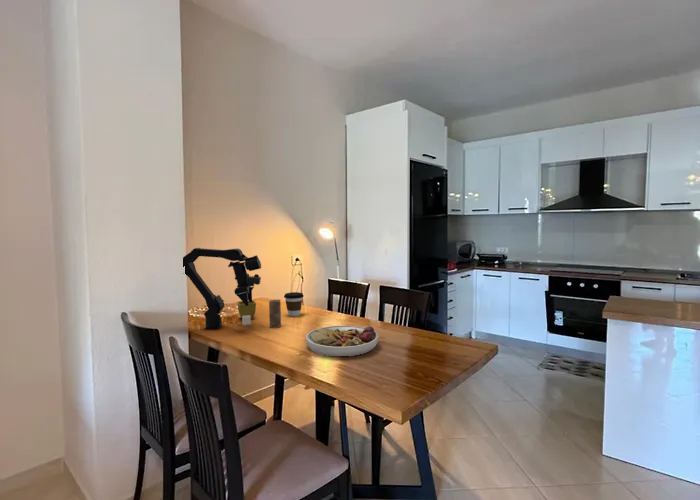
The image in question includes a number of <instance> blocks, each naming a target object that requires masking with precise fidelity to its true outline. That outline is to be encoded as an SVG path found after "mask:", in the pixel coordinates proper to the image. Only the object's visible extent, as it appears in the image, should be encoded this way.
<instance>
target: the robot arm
mask: <svg viewBox="0 0 700 500" xmlns="http://www.w3.org/2000/svg"><path fill="white" fill-rule="evenodd" d="M199 257H203V258H204V257H205V258H220V259H221V258H222V259H224V260H228V261H230V262H229V264H228V265H227V268H231V267H232V269H233V274H234V276H235V277H234V280H235V281H236V284H237V285H236V288H235V289H234V291H233V292H234V295H236V296H237V297H238V299H240V301H242V302H243V303H244V304H245V305H246V306H248V305H249V303H248V301H250V302H252V300H253V289H254V288H255V285H260V284H261V280H262V279H261V276H260V275H259V274H258V273H257V274H254V275H253V276H251V275H250V274H249V273H248V272H252V271H257V270H260V269H262V263H261V260H260V259H259V257H258V254H257V255H253V256H251V257H248V256H246V254H244V253H243V251H242V249H240V248H230V249H215V248H201V247H195V248H193V249H192V250H190V252H189V253H187V254H186V255H184V256H183V257H182V258H183V267H184V266H185V274H186V275H185V274H184V275H185V276H187V278H188V279H189V280H190V281H191V282H192V284H193V285H194V287H195V288H196V289H197V291H198V292H199V294H201V295H202V297H203V299H204V300H205V304H206V307H207V310H206V311H205V312H204V313H203V315H204V317H205V327H204V330H218V329H220V328H221V327H222V326H223V323H222V317H221V312H222V311H223V309H224V308H225V300H224V299H222V297H221V295H220V294H217V295H216V294H214V293H213V292H212V290H211V289H210V287H209V286H208V285H207V283H206V282H205V281H204V280H203V278H202V277H201V275H200V274H199V273H198V271H197V269H196V265H195V263H194V262H196V261H197V259H199ZM247 271H248V272H247Z"/></svg>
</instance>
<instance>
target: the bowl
mask: <svg viewBox="0 0 700 500" xmlns="http://www.w3.org/2000/svg"><path fill="white" fill-rule="evenodd" d="M305 341H306V345H307V346H308V348H309V349H310V350H311V351H313V352H314V353H316V354H318V353H319V354H318V355H321V354H323V355H322V356H326V355H328V356H327V357H332V356H349V357H355V355H356V356H359V355H360V354H361V355H364V354H366V353H368V352H371V351H372V350H373V349H374V348H375V347H376V345H377V344H378V341H379V335H378V333H377V332H376V331H375V329H374V327H372V326H367V327H363V326H356V325H331V326H330V325H329V326H324V327H319V328H316V329H313V330H311V331H309V332H308V333H307V334H306V335H305Z"/></svg>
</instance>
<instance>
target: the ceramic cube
mask: <svg viewBox="0 0 700 500" xmlns="http://www.w3.org/2000/svg"><path fill="white" fill-rule="evenodd" d="M241 319H242V320H241V321H242V322H241V324H242V326H251V324H252V323H251V321H252V319H251V315H248V316H242V318H241Z"/></svg>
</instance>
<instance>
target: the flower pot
mask: <svg viewBox="0 0 700 500" xmlns="http://www.w3.org/2000/svg"><path fill="white" fill-rule="evenodd" d="M236 303H237V311H238V313H239V315H240V318H241V319H242V316H248V315H251V320H252V319H253V318H254V317H255V315H256V309H257V308H256V306H257V302H256V301H254V300H253V299H252V302H250V301H249V300H248V303H249V305H248V306H246V305H245V304H244V303H243V302H242V300H240V301H237V302H236Z"/></svg>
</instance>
